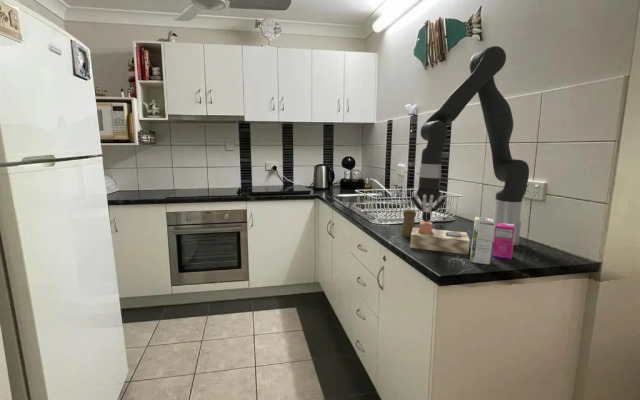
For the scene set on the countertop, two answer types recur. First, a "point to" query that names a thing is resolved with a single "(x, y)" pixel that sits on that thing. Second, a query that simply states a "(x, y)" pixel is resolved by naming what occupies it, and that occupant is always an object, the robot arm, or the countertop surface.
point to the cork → (408, 222)
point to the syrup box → (482, 240)
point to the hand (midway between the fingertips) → (426, 221)
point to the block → (440, 241)
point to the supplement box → (503, 241)
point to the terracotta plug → (425, 228)
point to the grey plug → (453, 234)
